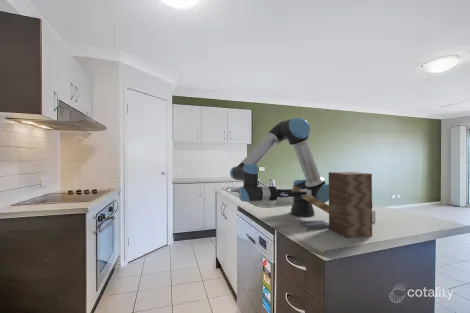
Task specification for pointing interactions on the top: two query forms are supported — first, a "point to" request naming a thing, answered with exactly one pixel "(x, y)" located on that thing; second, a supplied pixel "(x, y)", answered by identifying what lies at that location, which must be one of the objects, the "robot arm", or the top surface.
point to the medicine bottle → (373, 216)
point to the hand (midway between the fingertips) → (308, 192)
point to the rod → (313, 200)
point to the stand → (350, 203)
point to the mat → (315, 224)
